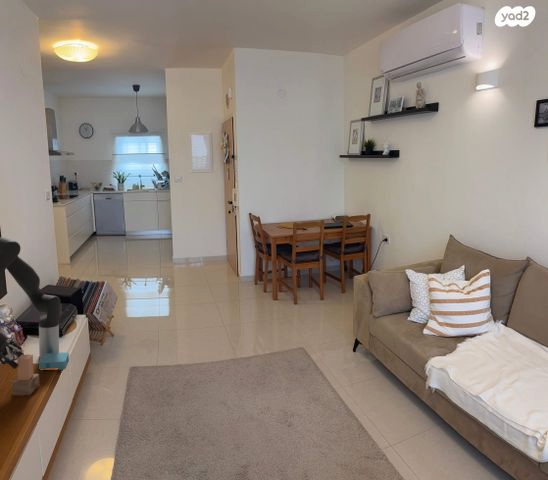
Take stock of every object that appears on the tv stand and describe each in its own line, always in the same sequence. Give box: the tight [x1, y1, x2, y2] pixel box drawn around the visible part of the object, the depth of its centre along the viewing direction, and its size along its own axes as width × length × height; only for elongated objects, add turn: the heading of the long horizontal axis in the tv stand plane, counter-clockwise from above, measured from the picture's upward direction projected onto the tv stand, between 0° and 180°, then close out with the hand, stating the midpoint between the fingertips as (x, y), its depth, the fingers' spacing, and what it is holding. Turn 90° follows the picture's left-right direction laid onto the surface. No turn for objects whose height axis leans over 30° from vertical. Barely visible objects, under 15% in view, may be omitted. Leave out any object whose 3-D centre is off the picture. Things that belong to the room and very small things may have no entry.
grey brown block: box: [11, 373, 40, 396], centre depth 196 cm, size 9×7×6 cm
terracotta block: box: [16, 354, 34, 380], centre depth 195 cm, size 5×5×10 cm
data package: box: [38, 352, 70, 371], centre depth 222 cm, size 12×4×12 cm
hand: (21, 363), depth 194 cm, fingers open, 8 cm apart
